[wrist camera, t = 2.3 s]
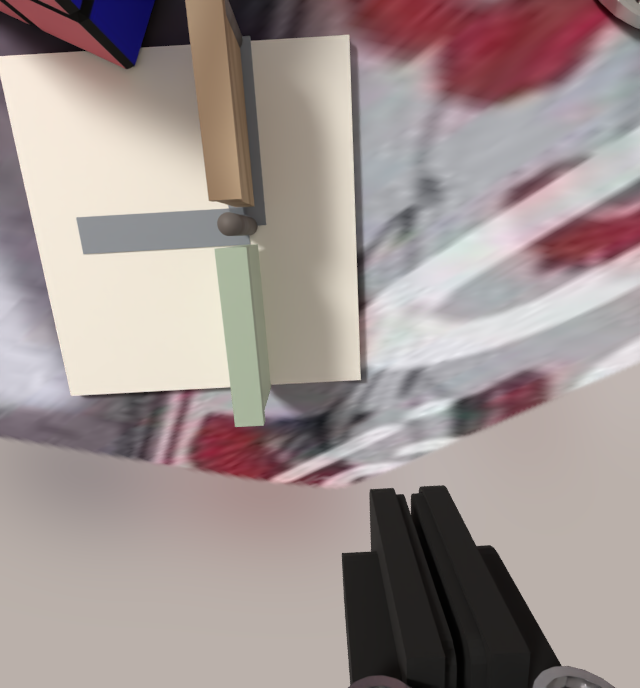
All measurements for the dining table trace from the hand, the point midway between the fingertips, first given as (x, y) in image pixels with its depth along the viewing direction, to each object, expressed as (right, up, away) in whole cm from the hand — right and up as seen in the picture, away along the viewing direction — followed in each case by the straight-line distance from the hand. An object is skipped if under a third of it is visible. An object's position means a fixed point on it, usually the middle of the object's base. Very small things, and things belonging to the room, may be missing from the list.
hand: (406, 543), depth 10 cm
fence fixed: (-6, +16, +13) cm, 21 cm away
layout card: (-9, +11, +15) cm, 20 cm away
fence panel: (-6, +6, +15) cm, 17 cm away
